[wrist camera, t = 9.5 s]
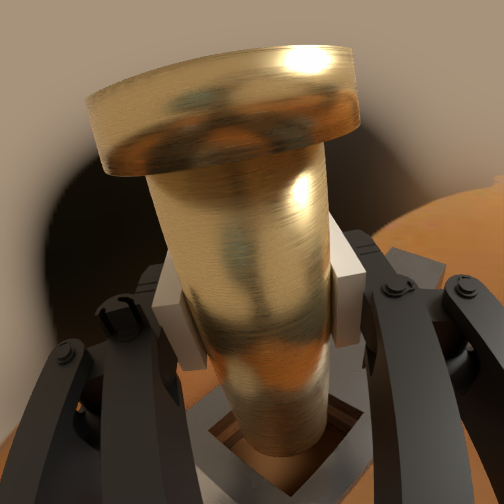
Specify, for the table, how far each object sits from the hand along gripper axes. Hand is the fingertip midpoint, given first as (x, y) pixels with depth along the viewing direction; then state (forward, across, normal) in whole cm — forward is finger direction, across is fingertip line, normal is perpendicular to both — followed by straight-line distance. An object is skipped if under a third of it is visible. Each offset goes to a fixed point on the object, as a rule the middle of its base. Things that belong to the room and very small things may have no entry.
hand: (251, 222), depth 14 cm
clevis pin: (-5, 0, -8) cm, 9 cm away
